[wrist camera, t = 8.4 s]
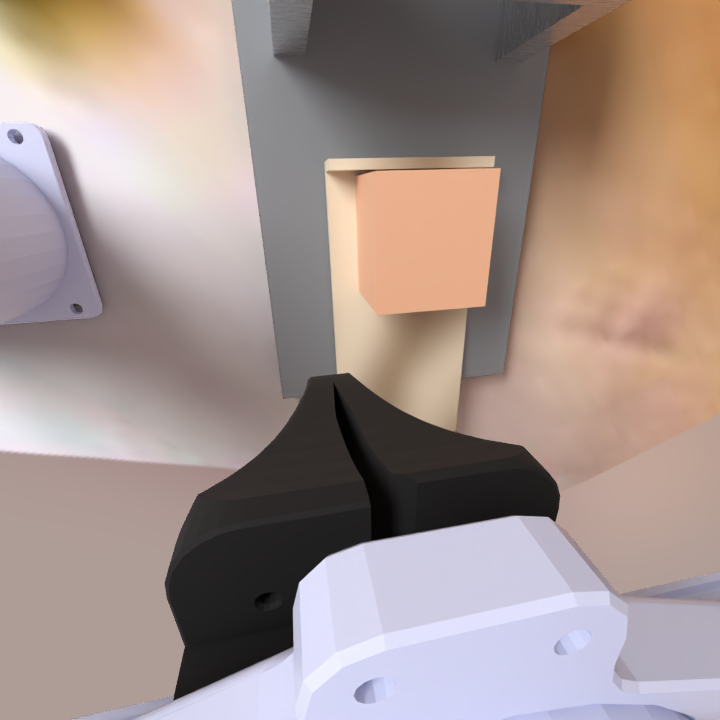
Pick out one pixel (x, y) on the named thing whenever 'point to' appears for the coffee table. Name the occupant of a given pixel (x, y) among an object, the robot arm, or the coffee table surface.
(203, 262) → the coffee table surface
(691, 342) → the coffee table surface
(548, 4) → the tunnel
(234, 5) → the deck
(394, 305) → the block
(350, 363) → the sled
